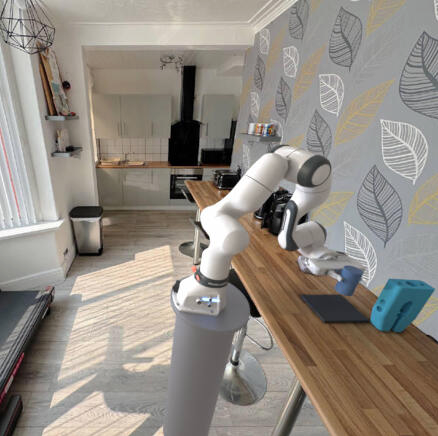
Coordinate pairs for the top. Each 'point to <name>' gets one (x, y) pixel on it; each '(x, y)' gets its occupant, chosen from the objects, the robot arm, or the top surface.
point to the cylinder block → (349, 280)
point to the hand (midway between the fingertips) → (351, 279)
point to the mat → (333, 308)
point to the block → (400, 304)
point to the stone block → (303, 265)
